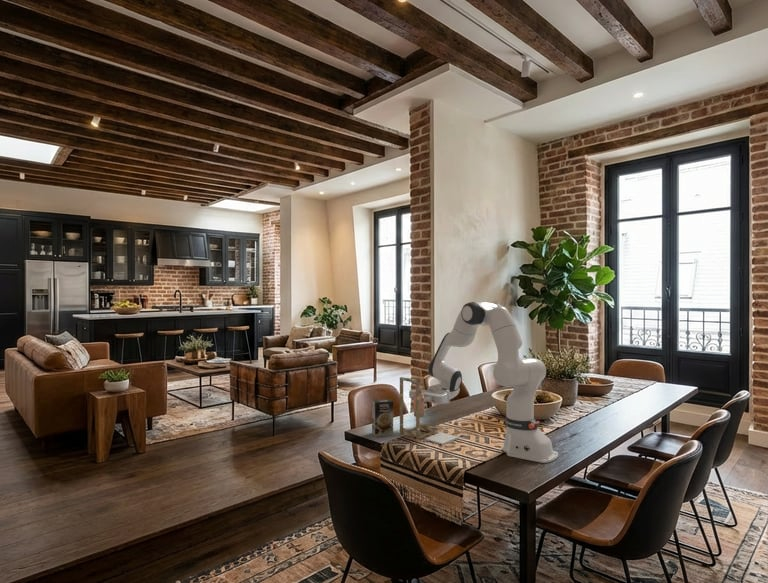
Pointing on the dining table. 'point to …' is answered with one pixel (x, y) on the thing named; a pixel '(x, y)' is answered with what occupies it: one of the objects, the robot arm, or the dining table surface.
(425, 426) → the rack
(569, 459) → the dining table surface
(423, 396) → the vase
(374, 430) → the coffee box
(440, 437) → the coaster
